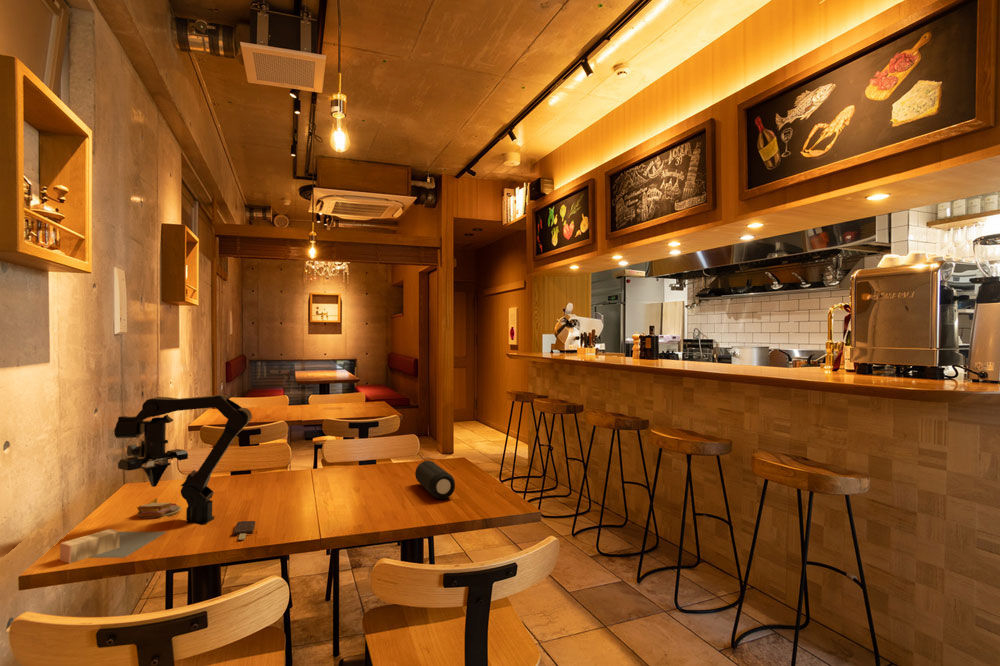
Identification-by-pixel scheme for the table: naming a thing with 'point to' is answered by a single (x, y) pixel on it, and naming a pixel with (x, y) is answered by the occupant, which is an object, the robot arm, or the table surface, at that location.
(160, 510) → the toy sandwich meal
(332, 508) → the table surface
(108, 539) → the maple block
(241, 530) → the ice cream bar
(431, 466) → the portable speaker
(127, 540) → the rubber mat
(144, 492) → the table surface
